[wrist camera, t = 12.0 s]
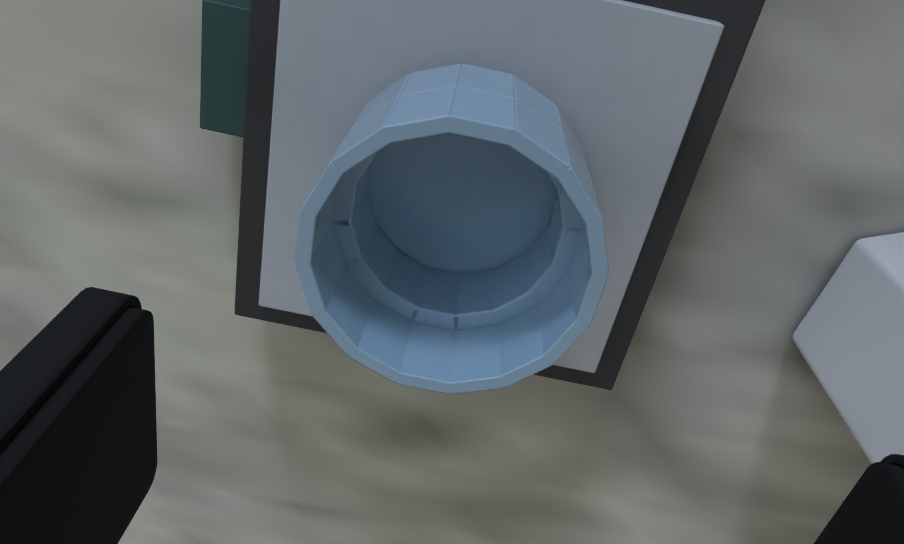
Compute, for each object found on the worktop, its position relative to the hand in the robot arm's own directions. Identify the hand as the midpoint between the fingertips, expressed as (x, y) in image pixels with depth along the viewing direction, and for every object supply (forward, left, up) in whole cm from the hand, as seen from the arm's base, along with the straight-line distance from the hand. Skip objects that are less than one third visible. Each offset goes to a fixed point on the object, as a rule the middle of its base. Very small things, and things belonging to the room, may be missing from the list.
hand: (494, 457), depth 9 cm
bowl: (+2, -1, -13) cm, 13 cm away
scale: (+2, -1, -17) cm, 17 cm away
